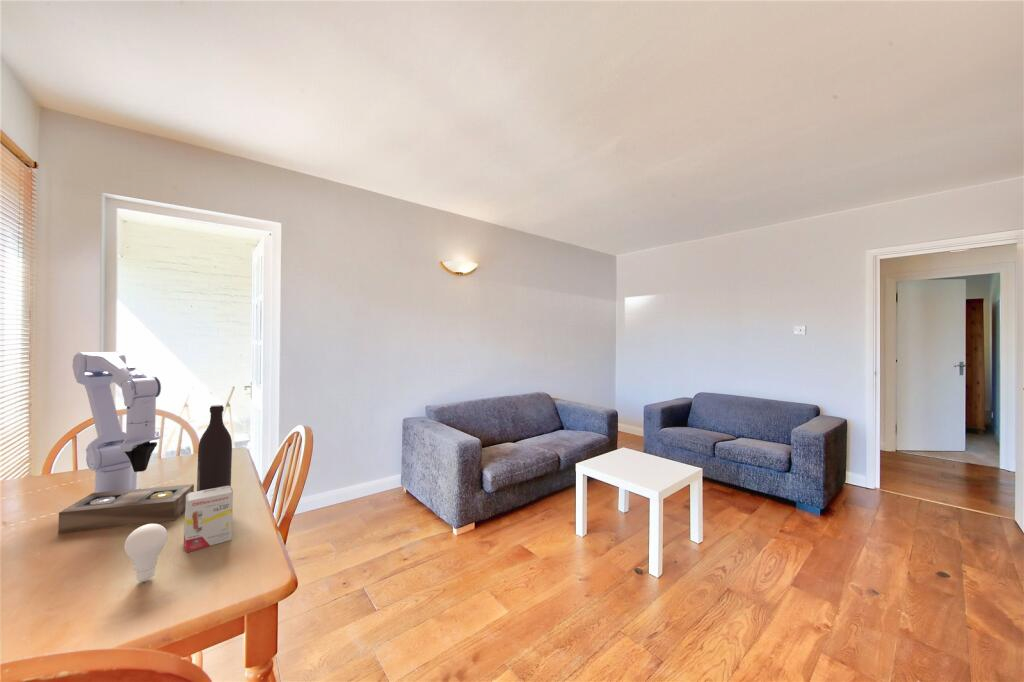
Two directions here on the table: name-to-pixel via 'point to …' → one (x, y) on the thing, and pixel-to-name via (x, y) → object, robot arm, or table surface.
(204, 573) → the table surface
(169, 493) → the brass peg
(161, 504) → the peg board
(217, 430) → the wine bottle
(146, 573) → the lightbulb
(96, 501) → the steel peg
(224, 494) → the ink box
